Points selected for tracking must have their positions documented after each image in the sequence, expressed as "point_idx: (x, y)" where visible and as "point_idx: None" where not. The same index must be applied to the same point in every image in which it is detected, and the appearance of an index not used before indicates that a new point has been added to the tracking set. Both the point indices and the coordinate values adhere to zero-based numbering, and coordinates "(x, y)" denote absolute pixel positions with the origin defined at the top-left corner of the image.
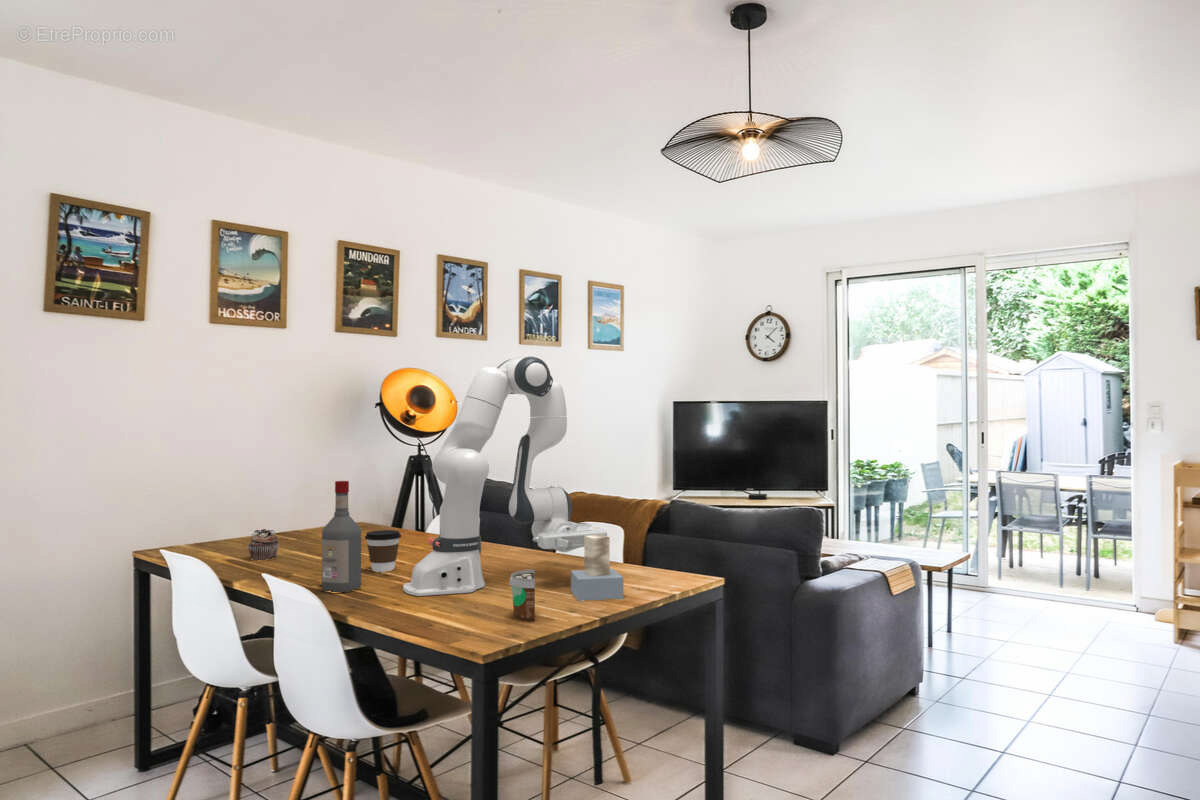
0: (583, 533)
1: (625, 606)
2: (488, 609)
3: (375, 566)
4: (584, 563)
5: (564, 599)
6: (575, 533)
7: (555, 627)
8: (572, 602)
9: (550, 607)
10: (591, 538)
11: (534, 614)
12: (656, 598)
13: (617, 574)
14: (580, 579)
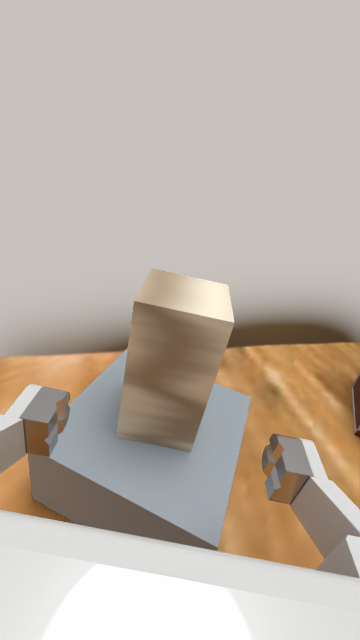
0: (54, 537)
1: None
2: None
3: None
4: (199, 425)
5: (261, 483)
6: (150, 598)
7: (318, 352)
8: (250, 442)
9: (315, 437)
10: (228, 290)
11: (357, 377)
12: (60, 357)
13: (110, 374)
14: (244, 395)
